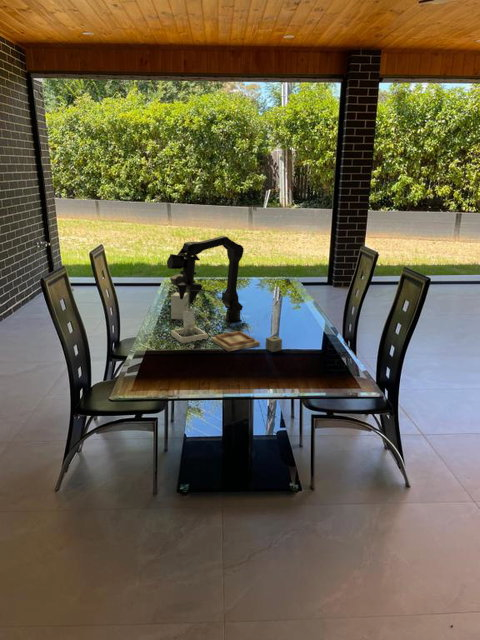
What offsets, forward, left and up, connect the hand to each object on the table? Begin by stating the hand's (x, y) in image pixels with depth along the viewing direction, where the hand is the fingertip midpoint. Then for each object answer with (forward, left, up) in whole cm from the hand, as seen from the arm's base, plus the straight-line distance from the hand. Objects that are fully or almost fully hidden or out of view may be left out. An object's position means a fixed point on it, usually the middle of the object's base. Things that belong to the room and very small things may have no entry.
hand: (185, 301), depth 244 cm
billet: (+4, +11, -14) cm, 18 cm away
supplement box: (-5, -20, -14) cm, 25 cm away
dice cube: (-22, +43, -14) cm, 51 cm away
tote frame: (+4, +11, -14) cm, 18 cm away
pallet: (-11, +28, -14) cm, 34 cm away
